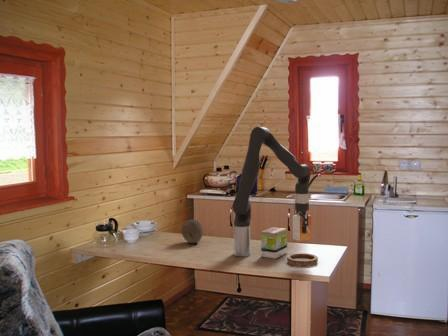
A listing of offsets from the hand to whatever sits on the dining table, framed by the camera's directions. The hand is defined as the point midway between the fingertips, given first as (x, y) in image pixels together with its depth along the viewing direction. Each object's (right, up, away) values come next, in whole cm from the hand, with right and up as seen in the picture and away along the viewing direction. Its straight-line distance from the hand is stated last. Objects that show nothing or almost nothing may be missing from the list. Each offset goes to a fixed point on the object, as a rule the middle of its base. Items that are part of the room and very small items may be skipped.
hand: (302, 231), depth 266 cm
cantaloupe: (-63, -14, +49) cm, 81 cm away
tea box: (-13, -16, +18) cm, 27 cm away
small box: (0, -4, 0) cm, 4 cm away
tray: (0, -17, +1) cm, 17 cm away
